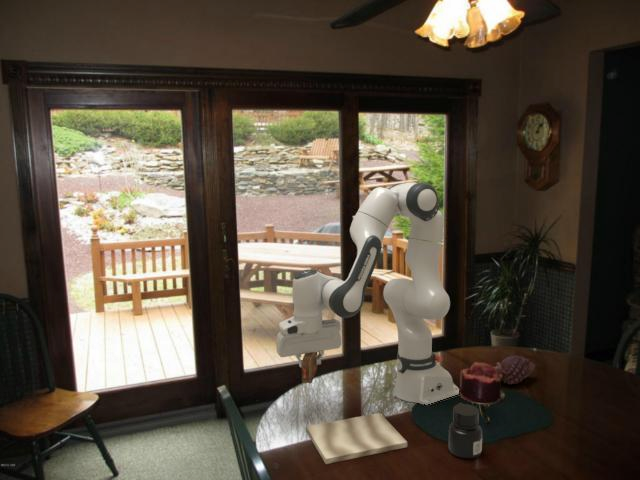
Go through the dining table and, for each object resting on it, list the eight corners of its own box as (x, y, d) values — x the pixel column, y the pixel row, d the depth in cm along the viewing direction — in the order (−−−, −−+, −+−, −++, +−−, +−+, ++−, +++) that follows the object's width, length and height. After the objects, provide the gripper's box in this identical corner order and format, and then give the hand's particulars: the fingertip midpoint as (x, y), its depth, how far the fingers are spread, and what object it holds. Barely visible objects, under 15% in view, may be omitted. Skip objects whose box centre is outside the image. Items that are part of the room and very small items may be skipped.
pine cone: (525, 373, 193) (526, 347, 192) (544, 384, 184) (546, 357, 182) (484, 381, 187) (485, 354, 186) (502, 392, 178) (504, 364, 177)
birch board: (379, 417, 163) (379, 412, 163) (407, 447, 146) (407, 442, 146) (306, 431, 156) (306, 426, 155) (325, 464, 139) (325, 459, 138)
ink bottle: (484, 461, 138) (485, 419, 137) (449, 459, 140) (450, 417, 138) (479, 442, 148) (480, 402, 146) (447, 440, 149) (447, 400, 147)
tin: (309, 388, 156) (311, 361, 154) (299, 386, 156) (300, 360, 155) (317, 368, 170) (319, 343, 169) (308, 367, 171) (309, 342, 169)
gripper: (336, 315, 167) (337, 356, 169) (273, 324, 160) (276, 366, 163) (343, 321, 161) (344, 363, 163) (278, 330, 154) (281, 374, 157)
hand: (310, 365), depth 163 cm, fingers closed on tin, 4 cm apart
